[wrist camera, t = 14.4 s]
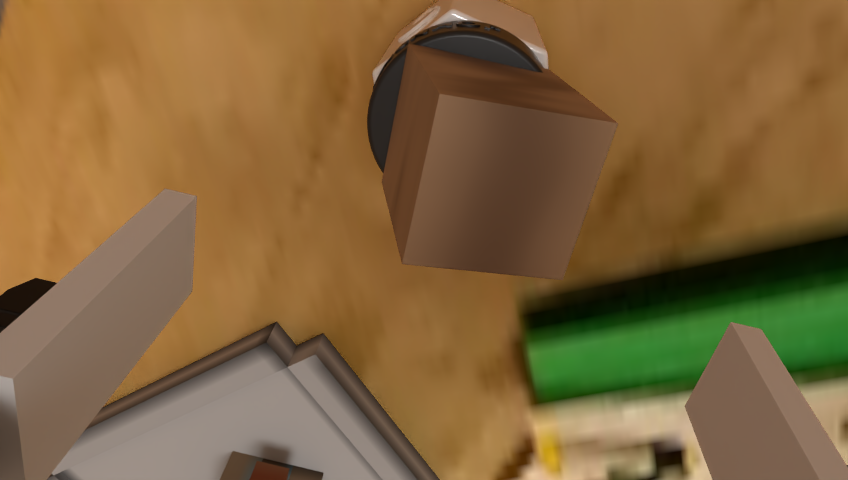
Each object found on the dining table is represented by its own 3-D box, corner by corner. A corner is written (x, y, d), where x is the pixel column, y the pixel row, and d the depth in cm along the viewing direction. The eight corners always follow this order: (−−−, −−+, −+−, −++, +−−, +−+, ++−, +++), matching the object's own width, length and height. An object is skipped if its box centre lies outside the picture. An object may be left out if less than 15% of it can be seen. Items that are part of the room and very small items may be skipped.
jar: (490, -47, 35) (493, -23, 24) (571, 74, 37) (604, 144, 27) (365, 53, 38) (318, 114, 27) (448, 159, 41) (434, 252, 30)
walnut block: (548, 68, 27) (618, 123, 21) (510, 198, 30) (562, 280, 23) (408, 43, 25) (439, 94, 19) (381, 182, 28) (402, 264, 22)
